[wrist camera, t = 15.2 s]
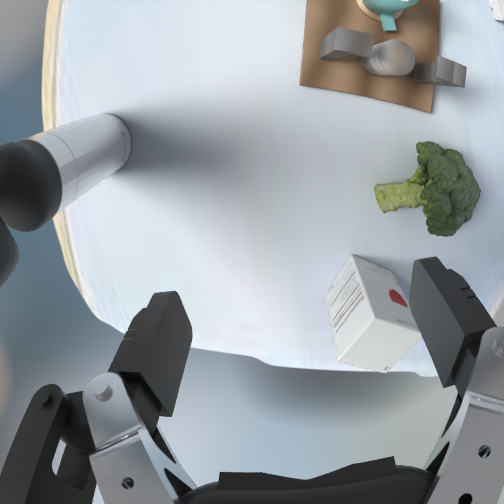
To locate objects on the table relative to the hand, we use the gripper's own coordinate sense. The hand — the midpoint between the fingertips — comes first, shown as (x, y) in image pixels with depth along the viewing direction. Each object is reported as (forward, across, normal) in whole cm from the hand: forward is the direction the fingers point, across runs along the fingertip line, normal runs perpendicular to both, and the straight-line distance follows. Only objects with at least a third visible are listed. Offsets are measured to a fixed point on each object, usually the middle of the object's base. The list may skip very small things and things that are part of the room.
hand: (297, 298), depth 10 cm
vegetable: (+33, -19, +9) cm, 39 cm away
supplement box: (+33, -10, +25) cm, 43 cm away
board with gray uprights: (+33, -15, -13) cm, 38 cm away
